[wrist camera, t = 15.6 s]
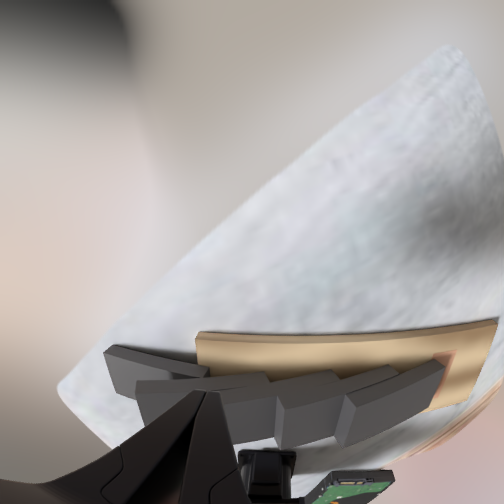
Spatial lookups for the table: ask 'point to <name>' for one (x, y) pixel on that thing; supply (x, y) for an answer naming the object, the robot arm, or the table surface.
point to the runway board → (356, 355)
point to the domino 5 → (387, 403)
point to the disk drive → (350, 487)
